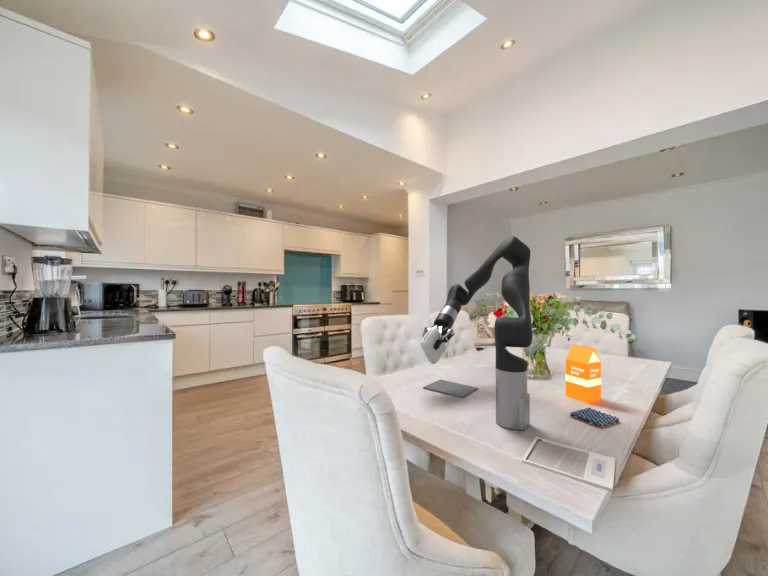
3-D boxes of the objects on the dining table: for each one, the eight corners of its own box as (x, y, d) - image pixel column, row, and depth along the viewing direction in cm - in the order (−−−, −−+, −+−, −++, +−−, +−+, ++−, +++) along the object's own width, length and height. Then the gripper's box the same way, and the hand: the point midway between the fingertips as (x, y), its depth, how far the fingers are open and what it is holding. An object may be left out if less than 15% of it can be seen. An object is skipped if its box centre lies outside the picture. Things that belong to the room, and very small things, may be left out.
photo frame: (612, 488, 65) (521, 458, 76) (612, 493, 65) (521, 463, 76) (615, 457, 76) (535, 436, 88) (615, 462, 76) (535, 440, 88)
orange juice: (588, 403, 113) (587, 348, 113) (565, 396, 121) (565, 344, 121) (601, 400, 116) (601, 347, 116) (578, 393, 124) (578, 343, 124)
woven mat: (567, 418, 102) (567, 411, 102) (587, 412, 107) (587, 406, 106) (600, 431, 93) (600, 424, 93) (621, 424, 97) (621, 418, 97)
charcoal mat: (477, 389, 130) (477, 387, 130) (462, 398, 119) (462, 396, 119) (440, 380, 142) (440, 379, 142) (423, 388, 131) (423, 387, 131)
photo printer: (439, 345, 133) (429, 324, 127) (448, 346, 130) (438, 325, 124) (428, 363, 127) (416, 341, 122) (436, 365, 124) (425, 343, 119)
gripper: (463, 326, 131) (448, 356, 121) (434, 324, 141) (418, 352, 130) (458, 312, 128) (441, 342, 117) (429, 311, 137) (411, 339, 127)
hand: (429, 347), depth 124 cm, fingers closed on photo printer, 4 cm apart
